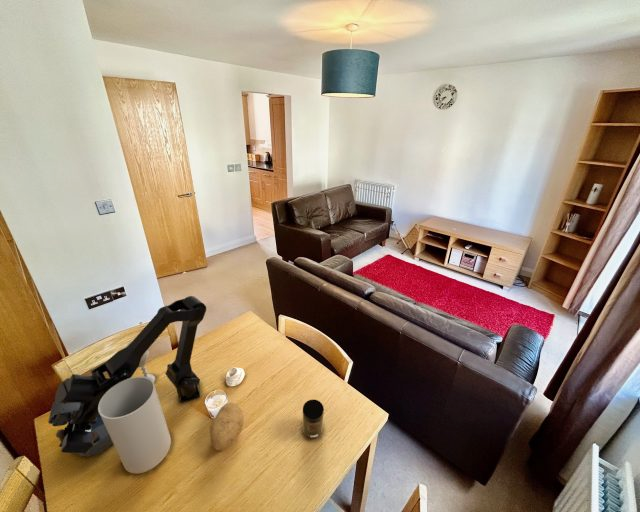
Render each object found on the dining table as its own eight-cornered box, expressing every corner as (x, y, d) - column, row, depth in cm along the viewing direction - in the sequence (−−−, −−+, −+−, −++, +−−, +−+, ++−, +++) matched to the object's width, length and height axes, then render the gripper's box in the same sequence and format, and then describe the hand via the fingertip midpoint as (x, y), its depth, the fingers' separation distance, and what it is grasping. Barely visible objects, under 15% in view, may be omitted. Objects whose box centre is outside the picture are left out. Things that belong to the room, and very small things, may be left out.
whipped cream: (238, 390, 104) (238, 382, 102) (221, 387, 104) (220, 379, 102) (246, 372, 111) (246, 364, 108) (230, 369, 111) (230, 361, 109)
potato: (204, 458, 82) (200, 441, 79) (220, 413, 95) (217, 398, 91) (236, 459, 82) (233, 443, 78) (248, 414, 95) (246, 399, 91)
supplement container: (319, 417, 95) (320, 397, 90) (325, 436, 89) (326, 416, 84) (300, 422, 93) (300, 402, 88) (305, 442, 87) (305, 421, 82)
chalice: (148, 390, 102) (135, 355, 94) (132, 387, 103) (118, 351, 95) (162, 374, 108) (151, 340, 100) (147, 371, 109) (135, 337, 102)
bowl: (128, 408, 95) (125, 401, 94) (120, 445, 84) (117, 437, 83) (81, 422, 90) (77, 415, 89) (67, 464, 79) (61, 456, 78)
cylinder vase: (137, 485, 75) (112, 428, 65) (115, 457, 81) (89, 401, 70) (179, 445, 85) (164, 390, 74) (157, 423, 91) (139, 369, 80)
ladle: (91, 432, 87) (78, 407, 81) (102, 436, 86) (89, 411, 80) (65, 458, 80) (49, 432, 75) (77, 462, 79) (61, 436, 74)
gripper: (70, 369, 79) (33, 413, 78) (59, 424, 65) (14, 477, 64) (111, 377, 86) (78, 417, 86) (109, 427, 73) (69, 475, 72)
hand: (61, 443), depth 77 cm, fingers closed on ladle, 2 cm apart
